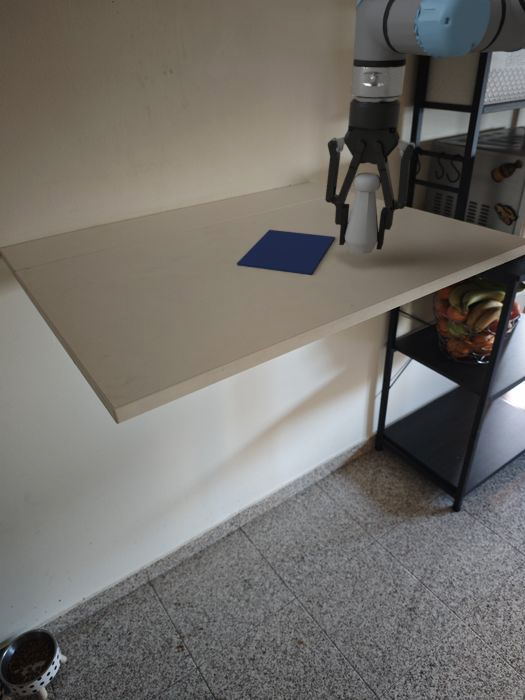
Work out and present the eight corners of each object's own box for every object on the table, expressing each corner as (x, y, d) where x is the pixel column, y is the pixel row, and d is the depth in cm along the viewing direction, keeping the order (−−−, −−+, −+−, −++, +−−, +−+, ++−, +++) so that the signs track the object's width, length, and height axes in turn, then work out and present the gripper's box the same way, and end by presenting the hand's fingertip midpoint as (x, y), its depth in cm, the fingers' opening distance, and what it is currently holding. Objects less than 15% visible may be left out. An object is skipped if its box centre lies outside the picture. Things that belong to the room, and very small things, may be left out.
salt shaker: (351, 258, 85) (358, 180, 78) (338, 245, 89) (343, 171, 82) (382, 254, 86) (392, 177, 79) (368, 242, 91) (376, 168, 83)
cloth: (334, 238, 100) (335, 236, 100) (311, 275, 86) (311, 272, 86) (269, 231, 104) (269, 229, 104) (236, 265, 90) (236, 263, 90)
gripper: (308, 99, 75) (303, 246, 87) (439, 103, 69) (414, 259, 82) (320, 93, 80) (314, 231, 93) (442, 96, 75) (418, 242, 88)
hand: (361, 244), depth 88 cm, fingers closed on salt shaker, 6 cm apart
